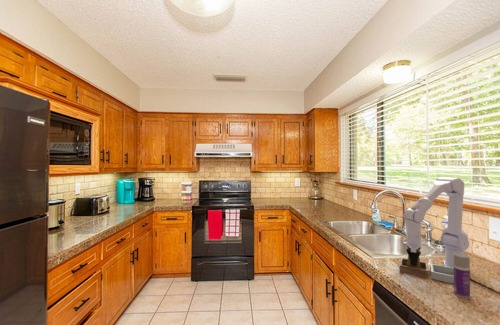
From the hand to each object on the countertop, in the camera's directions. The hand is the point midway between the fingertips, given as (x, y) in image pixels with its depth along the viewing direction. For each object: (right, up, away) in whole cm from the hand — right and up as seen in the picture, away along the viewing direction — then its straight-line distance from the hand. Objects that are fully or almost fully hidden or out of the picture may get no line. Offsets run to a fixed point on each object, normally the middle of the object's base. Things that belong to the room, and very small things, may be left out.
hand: (413, 263), depth 114 cm
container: (+4, -3, -21) cm, 22 cm away
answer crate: (+10, -3, -7) cm, 12 cm away
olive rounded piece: (0, -4, 0) cm, 4 cm away
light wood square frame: (0, -3, 0) cm, 3 cm away
